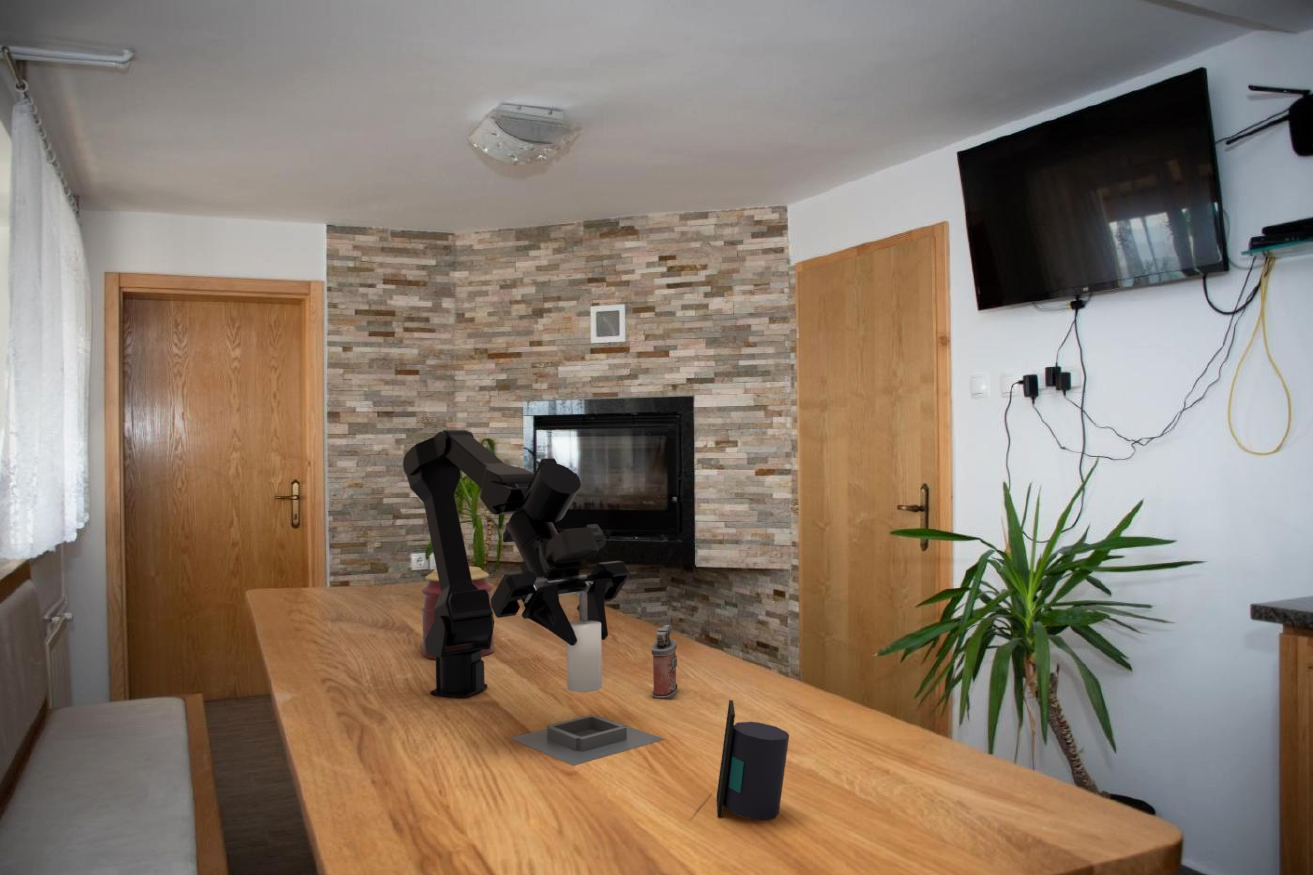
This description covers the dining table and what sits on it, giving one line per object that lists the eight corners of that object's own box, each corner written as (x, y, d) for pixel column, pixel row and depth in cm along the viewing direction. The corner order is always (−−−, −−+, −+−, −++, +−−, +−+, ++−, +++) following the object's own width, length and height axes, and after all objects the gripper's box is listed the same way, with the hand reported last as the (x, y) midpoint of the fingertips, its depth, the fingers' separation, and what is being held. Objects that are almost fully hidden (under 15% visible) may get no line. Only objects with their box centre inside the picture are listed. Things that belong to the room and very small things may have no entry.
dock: (509, 741, 118) (509, 726, 118) (598, 719, 127) (598, 704, 127) (573, 769, 108) (572, 752, 108) (665, 743, 117) (665, 727, 117)
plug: (561, 690, 116) (559, 593, 116) (576, 681, 121) (574, 588, 121) (593, 693, 115) (592, 595, 115) (607, 684, 119) (606, 589, 119)
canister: (509, 649, 173) (507, 554, 173) (459, 664, 162) (457, 562, 162) (458, 643, 180) (456, 551, 180) (406, 656, 169) (405, 558, 169)
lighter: (671, 702, 135) (670, 633, 135) (648, 702, 136) (647, 633, 136) (681, 688, 143) (679, 623, 143) (659, 687, 144) (658, 622, 144)
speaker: (697, 814, 93) (707, 710, 93) (716, 797, 98) (726, 698, 99) (771, 833, 90) (781, 725, 90) (787, 814, 95) (796, 712, 96)
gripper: (500, 508, 115) (552, 610, 106) (620, 501, 127) (675, 591, 118) (470, 567, 121) (516, 667, 112) (587, 554, 133) (637, 644, 124)
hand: (590, 640), depth 117 cm, fingers closed on plug, 4 cm apart
